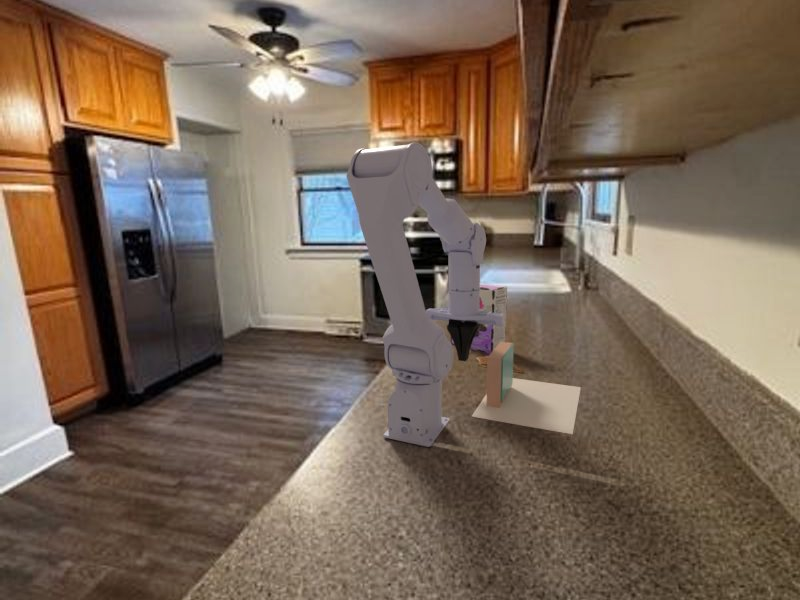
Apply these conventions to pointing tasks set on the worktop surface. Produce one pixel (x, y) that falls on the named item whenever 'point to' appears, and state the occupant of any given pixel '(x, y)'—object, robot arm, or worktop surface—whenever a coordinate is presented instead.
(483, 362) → the shard
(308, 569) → the worktop surface
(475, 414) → the cutting board
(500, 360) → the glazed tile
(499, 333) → the candy box
